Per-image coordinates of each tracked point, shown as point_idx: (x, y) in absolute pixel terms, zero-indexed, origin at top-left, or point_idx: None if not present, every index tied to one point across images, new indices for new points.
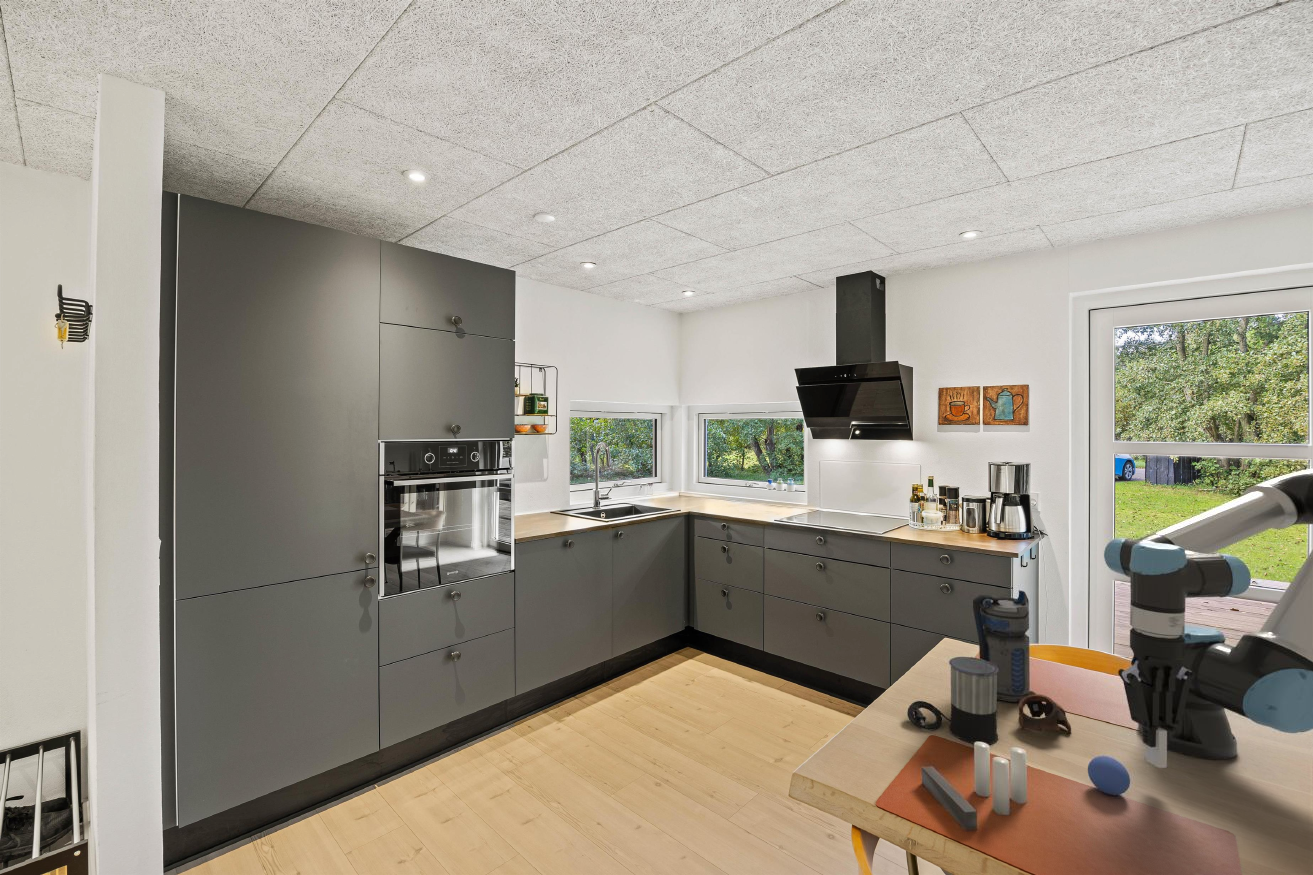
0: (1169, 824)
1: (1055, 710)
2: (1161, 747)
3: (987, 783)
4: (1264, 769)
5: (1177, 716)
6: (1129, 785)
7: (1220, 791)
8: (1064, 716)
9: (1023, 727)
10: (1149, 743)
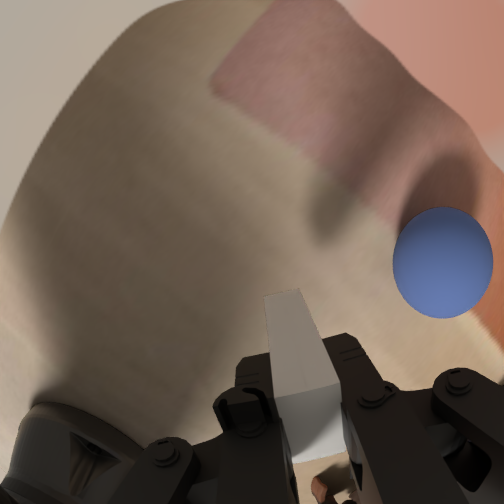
0: (355, 110)
1: None
2: (302, 328)
3: None
4: (6, 366)
5: (162, 491)
6: (409, 224)
7: (105, 288)
8: (358, 497)
9: None
10: (356, 342)
